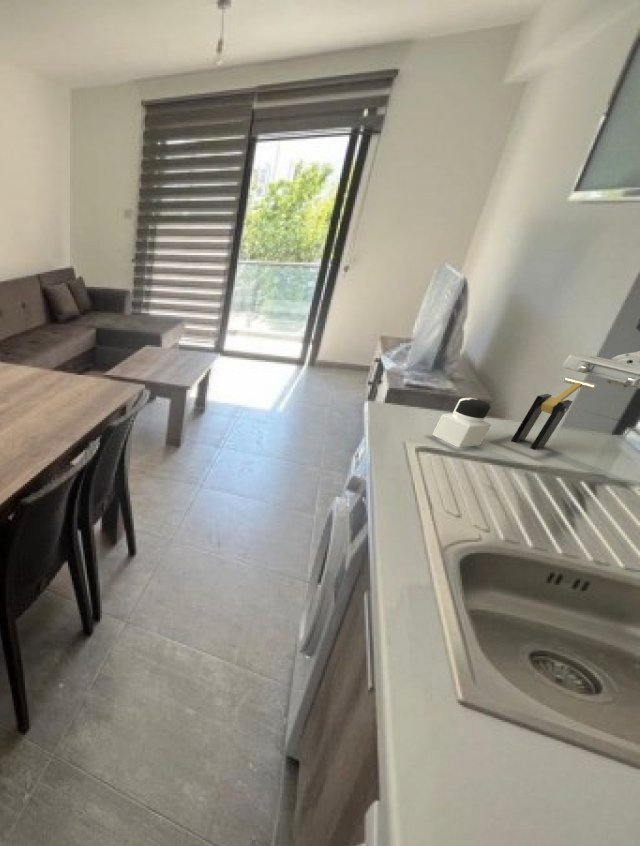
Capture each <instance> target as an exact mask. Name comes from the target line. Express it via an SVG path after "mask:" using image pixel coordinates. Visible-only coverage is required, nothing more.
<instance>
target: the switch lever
mask: <svg viewBox="0 0 640 846" xmlns="http://www.w3.org/2000/svg"><path fill="white" fill-rule="evenodd" d="M563 383H566V384H569V385H570V386H569V387H568V388H566V389H565V390H564V391H563V392H561V393H559V395H557V396H556V397H552V396H551V397H550V398H549V399H547V400H546V401H545V402H543V403H542V406H541V409H540V411H542V412H544V413H547V414H550V415H551V413H552V412H553V410H554V409H555V407H556V405H557V404H558V402H561V401H565V400H566V399H567V398H568V397H570V396H571V395H572V394H573V393H575V392H576V391H577V390H579V389H580V388H583V389H587V390H591V391H594V390H595V389H596V388H597V387H598V384H597V383H594V382H589V381H585V380H583V379H578V378H575V377H571V376H566V377H565V378H564V380H563Z"/></svg>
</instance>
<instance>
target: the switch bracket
mask: <svg viewBox="0 0 640 846" xmlns="http://www.w3.org/2000/svg"><path fill="white" fill-rule="evenodd" d="M552 396H553V395H552V394H549V393H544V394H539V395H537V396H536V398H535V399H534V400H533V403H532V404H531V406H530V408H529V409H528V411H527V413H526V415H525V416H524V417H523V420H522V422H521V423H520V425H519V426H518V428H517V430H516V432H515V433H514V435H513V436H512V438H511V440H510V442H512V443H515V444H516V443H520V442H524V441H526V439H527V437H528V435H529V434H530V432H531V430H532V428H533V427H534V425H535V424H536V422H537V421H538V419H539V417H540V416H541V414H542V412H543V411H540V409H541V406H542V403H543V402H545V401H546V400H547V399H549V398H550V397H552ZM572 404H573V400H570V399H564V400H563V401H561V402H558V404H557V405H556V407H555V409H554V410H553V412H552V413H551V414H550V415H549V416H548V418H547V419H546V421H545V423H544V425H543V426H542V428H541V429H540V431H539V433H538V434H537V436H536V438H535V439H534V441H533V442H532V444H531V446H530V449H531V450H533V451H536V450H539V449H543V448H545V446H546V445H547V443H548V442H549V440H550V438H551V437H552V435H553V434H554V432H555V430H556V429H557V427H558V426H559V424H560V422H561V421H562V419H563V418H564V416H565V415H566V414H567V412H568V411H569V409H570V406H571V405H572Z"/></svg>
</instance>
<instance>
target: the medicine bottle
mask: <svg viewBox="0 0 640 846" xmlns="http://www.w3.org/2000/svg"><path fill="white" fill-rule="evenodd" d="M490 409H491V405H490V404H489V403H487V402H486V401H484V400H481V399H478V398H474V397H463V398H460V399H459V400H458V402H457V404H456V405H455V407H454V410H453V412H452V413H443V414H441V415H440V418H439V420H438V422H437V424H436V427H435V428H434V430H433V432H432V436H433V437H436V438H438V439H440V440H442V441H444V442H446V443H449V444H451V445H453V446H455V447H457V448H469V447H478V446H481V444H482V442H483V440H484V439H485V437H486V435H487V433H488V431H489V430H490V428H491V425H492V424H491V423H489V422H486V421H484V420H485V419H486V417H487V415H488V413H489V411H490Z"/></svg>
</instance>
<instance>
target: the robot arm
mask: <svg viewBox="0 0 640 846" xmlns="http://www.w3.org/2000/svg"><path fill="white" fill-rule="evenodd" d="M635 329H636V330H637V331H638V332H639V333H640V318H638V321H637V323H636V326H635ZM562 367H563V368H564V369H566V370H570V371H574V372H577V373H581V374H586V375H590V376H593V377H597V378H602V379H604V380H605V382H607V383H608V384H609V385H611V386H614V387H618V388H630V389H640V350H639V351H635V352H628V353H622V354H619V355H616V356H614V357H611V358H610V359H608V358H604V357H599V356H595V355H590V354H583V353H576V354H569V355H568V356H567V357H566V359H564V362H563V364H562Z"/></svg>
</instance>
